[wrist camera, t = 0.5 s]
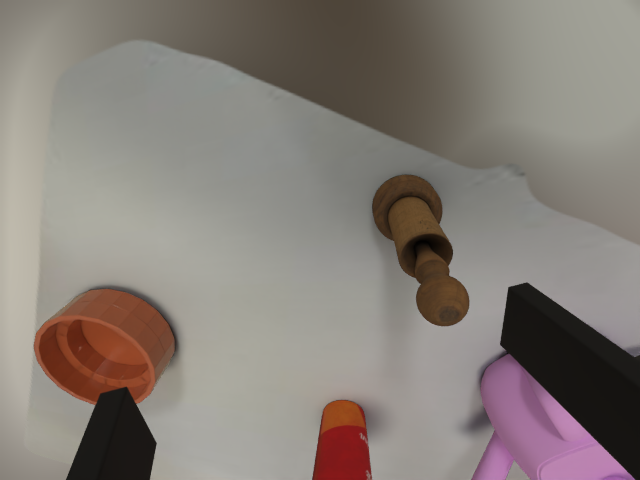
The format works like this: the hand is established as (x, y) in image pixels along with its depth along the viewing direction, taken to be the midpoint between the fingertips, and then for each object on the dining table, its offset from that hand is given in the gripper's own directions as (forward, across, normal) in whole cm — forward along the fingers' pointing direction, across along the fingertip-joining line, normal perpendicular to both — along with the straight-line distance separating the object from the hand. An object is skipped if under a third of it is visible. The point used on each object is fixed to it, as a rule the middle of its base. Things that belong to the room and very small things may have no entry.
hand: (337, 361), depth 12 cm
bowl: (+33, -22, -19) cm, 44 cm away
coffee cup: (+24, +4, -36) cm, 44 cm away
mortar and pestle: (+23, +13, -5) cm, 27 cm away
